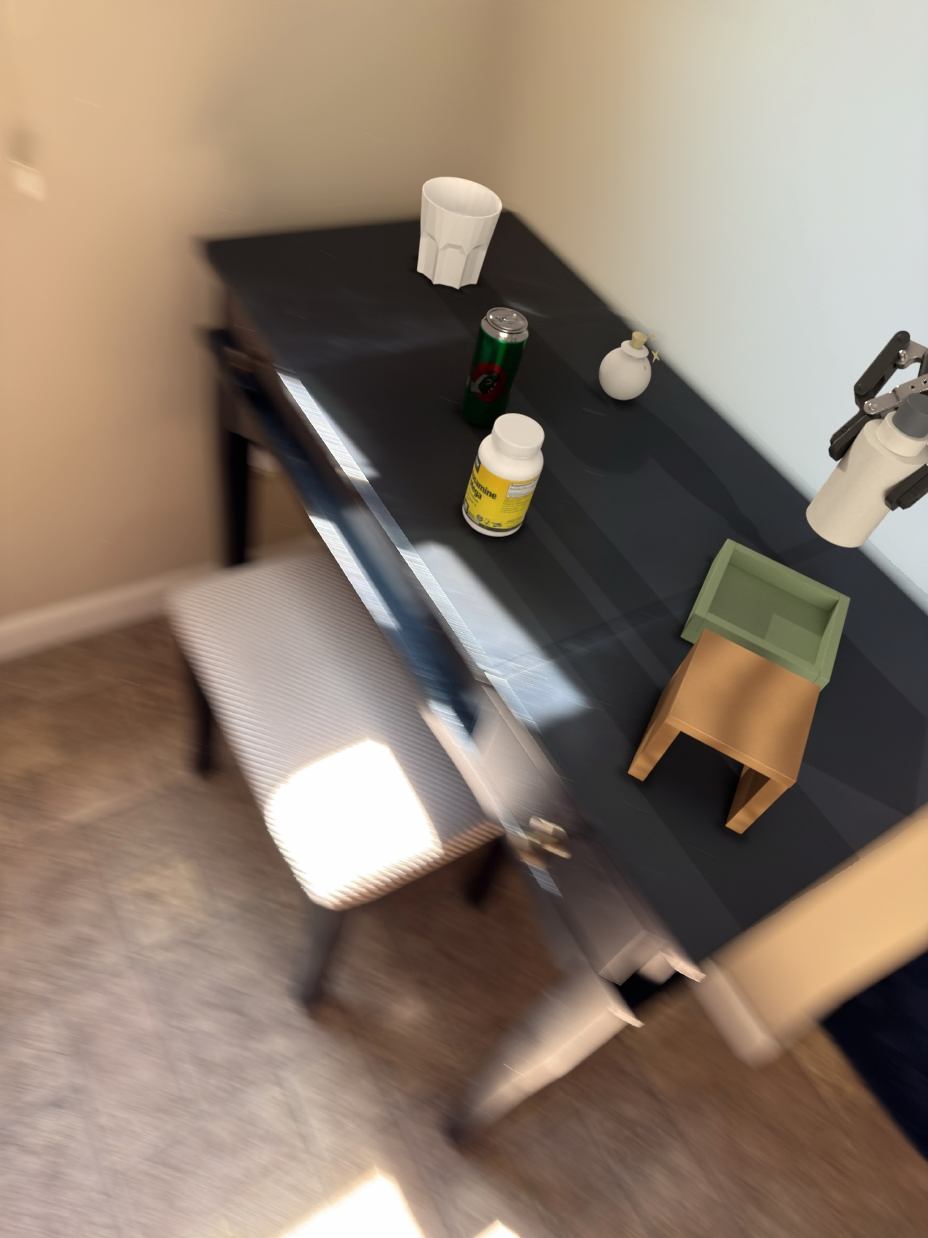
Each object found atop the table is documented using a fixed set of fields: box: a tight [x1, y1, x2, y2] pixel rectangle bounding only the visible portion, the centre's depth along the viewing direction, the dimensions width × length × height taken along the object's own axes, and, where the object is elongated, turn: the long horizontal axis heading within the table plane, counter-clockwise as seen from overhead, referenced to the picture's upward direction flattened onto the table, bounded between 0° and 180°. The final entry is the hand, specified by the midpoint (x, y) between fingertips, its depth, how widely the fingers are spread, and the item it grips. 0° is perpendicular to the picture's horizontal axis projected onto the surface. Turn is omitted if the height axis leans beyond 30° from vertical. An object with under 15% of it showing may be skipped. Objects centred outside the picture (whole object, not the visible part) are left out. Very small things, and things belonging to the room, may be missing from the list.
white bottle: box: [805, 393, 928, 548], centre depth 69 cm, size 5×5×12 cm
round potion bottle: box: [598, 331, 661, 401], centre depth 100 cm, size 6×7×10 cm
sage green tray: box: [680, 538, 851, 692], centre depth 83 cm, size 13×12×4 cm
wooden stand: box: [627, 628, 821, 835], centre depth 69 cm, size 10×10×9 cm
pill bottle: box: [462, 412, 545, 537], centre depth 82 cm, size 6×6×11 cm
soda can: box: [459, 307, 530, 428], centre depth 92 cm, size 5×5×12 cm
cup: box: [416, 176, 503, 290], centre depth 111 cm, size 10×10×10 cm
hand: (860, 479), depth 68 cm, fingers closed on white bottle, 5 cm apart
